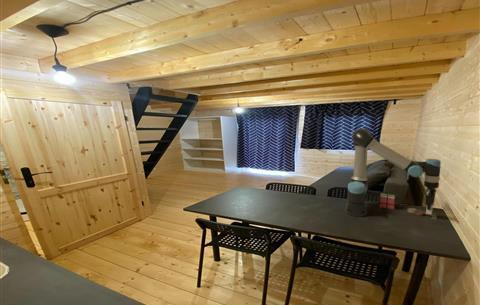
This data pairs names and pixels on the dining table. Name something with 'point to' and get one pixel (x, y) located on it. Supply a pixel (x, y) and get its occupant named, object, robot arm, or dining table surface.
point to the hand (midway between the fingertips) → (428, 213)
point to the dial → (417, 212)
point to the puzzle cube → (387, 201)
